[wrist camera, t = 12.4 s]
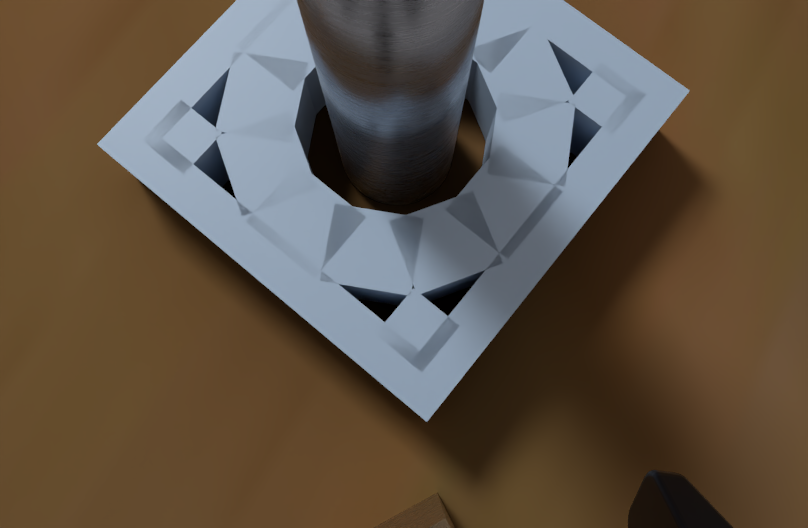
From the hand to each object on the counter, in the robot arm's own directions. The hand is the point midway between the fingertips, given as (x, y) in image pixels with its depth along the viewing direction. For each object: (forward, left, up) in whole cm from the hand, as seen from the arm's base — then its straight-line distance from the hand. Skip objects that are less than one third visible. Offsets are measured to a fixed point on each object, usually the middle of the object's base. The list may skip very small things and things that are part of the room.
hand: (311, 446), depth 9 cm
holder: (+5, -7, -11) cm, 14 cm away
